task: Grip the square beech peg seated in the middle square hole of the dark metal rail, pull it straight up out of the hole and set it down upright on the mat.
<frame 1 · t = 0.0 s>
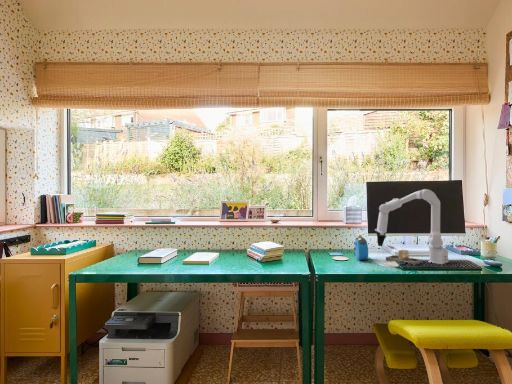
hand: (379, 244, 221), 11 cm above the table, tool pointing down, fingers open, 7 cm apart
peg: (403, 256, 217), in the rail
rail: (403, 261, 217), on the table
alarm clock: (361, 260, 229), on the table
mat: (394, 264, 212), on the table
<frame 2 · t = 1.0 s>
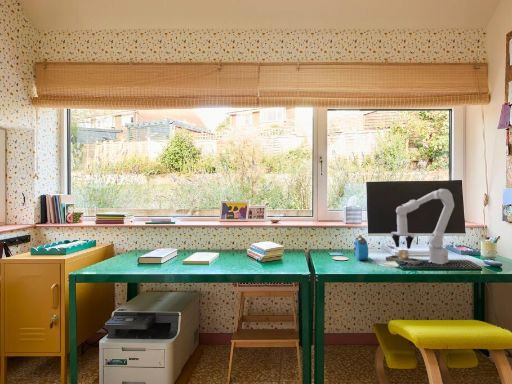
hand: (403, 247, 217), 9 cm above the table, tool pointing down, fingers open, 7 cm apart
nothing on the table moved.
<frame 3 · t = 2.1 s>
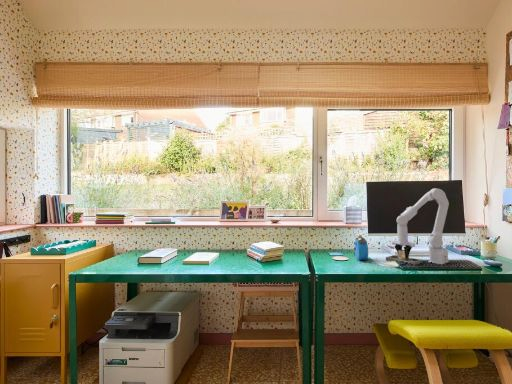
hand: (403, 257, 217), 3 cm above the table, tool pointing down, fingers closed on peg, 4 cm apart
peg: (403, 256, 217), in the rail, touching gripper
everything else where it was.
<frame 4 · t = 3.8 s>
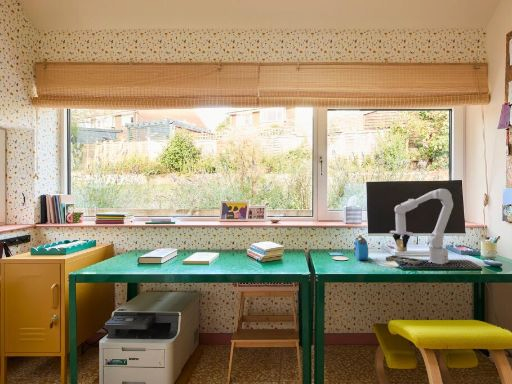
hand: (401, 246, 216), 9 cm above the table, tool pointing down, fingers closed on peg, 4 cm apart
peg: (401, 245, 216), point 10 cm above the table, touching gripper
everything else where it was.
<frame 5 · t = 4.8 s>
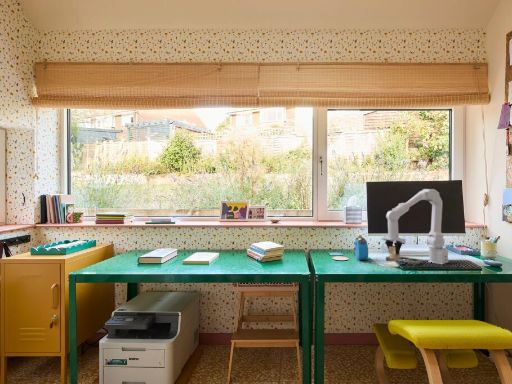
hand: (394, 253, 212), 6 cm above the table, tool pointing down, fingers closed on peg, 4 cm apart
peg: (394, 252, 212), point 7 cm above the table, touching gripper
everything else where it was.
when the fingers open (5 cm above the table, at t = 5.5 s): peg drops 1 cm, resting on mat.
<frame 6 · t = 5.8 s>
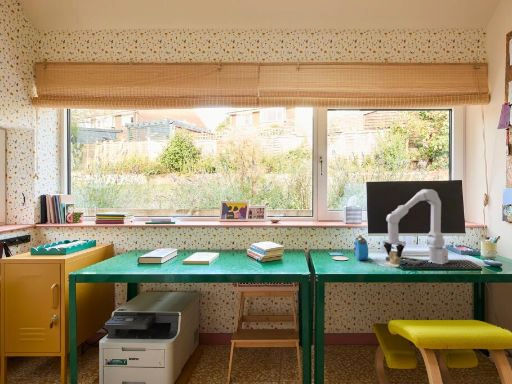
hand: (394, 256, 212), 5 cm above the table, tool pointing down, fingers open, 6 cm apart
peg: (394, 257, 212), on the mat
everything else where it was.
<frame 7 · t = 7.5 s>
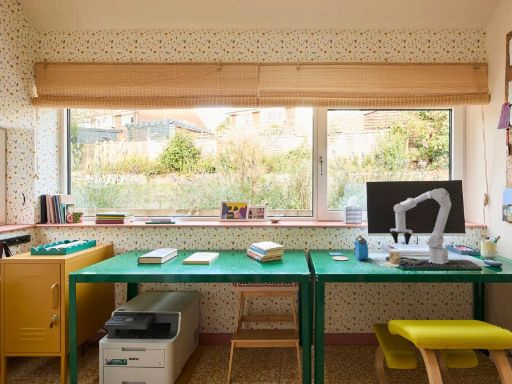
hand: (401, 243, 226), 9 cm above the table, tool pointing down, fingers open, 7 cm apart
nothing on the table moved.
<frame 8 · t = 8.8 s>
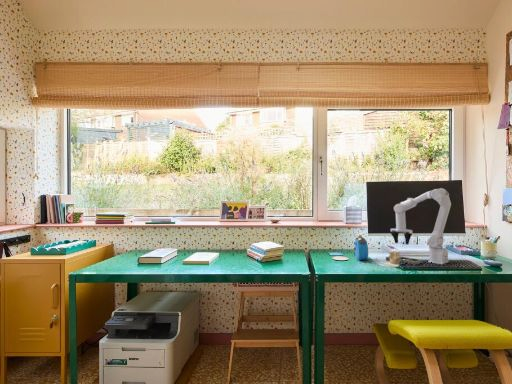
hand: (401, 243, 226), 9 cm above the table, tool pointing down, fingers open, 7 cm apart
nothing on the table moved.
at the end: peg inside the target area on the mat (0.2 cm from its centre), point 3.9 cm above the mat's base; peg tilted 0°; the gripper is holding nothing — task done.
